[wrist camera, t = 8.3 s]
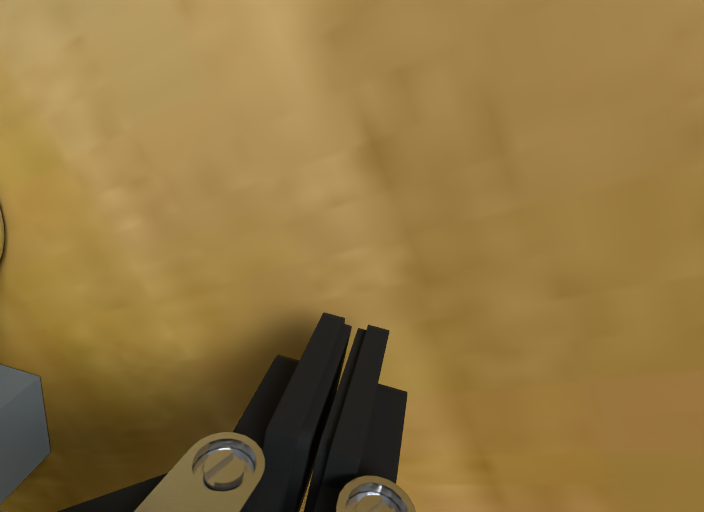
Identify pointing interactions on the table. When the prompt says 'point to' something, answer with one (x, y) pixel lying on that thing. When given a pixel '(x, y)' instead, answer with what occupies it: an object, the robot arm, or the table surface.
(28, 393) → the bar
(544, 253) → the table surface
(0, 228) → the plant pot
